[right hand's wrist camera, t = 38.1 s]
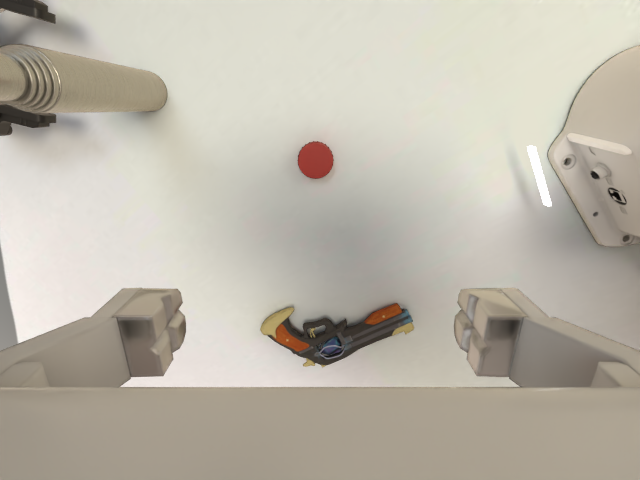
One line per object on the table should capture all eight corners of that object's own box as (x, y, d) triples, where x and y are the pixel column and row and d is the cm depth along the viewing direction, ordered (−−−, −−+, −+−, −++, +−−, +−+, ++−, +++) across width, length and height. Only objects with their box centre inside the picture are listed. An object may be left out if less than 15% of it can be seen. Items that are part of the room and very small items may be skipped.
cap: (298, 141, 40) (297, 142, 38) (333, 141, 40) (333, 142, 38) (298, 175, 41) (297, 179, 39) (332, 176, 41) (333, 179, 39)
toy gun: (255, 327, 45) (289, 388, 47) (389, 267, 44) (418, 333, 46) (258, 318, 48) (290, 376, 50) (385, 261, 46) (413, 323, 48)
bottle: (174, 89, 38) (12, 68, 18) (154, 119, 39) (-19, 130, 19) (142, 62, 37) (-67, 8, 17) (122, 93, 38) (-95, 76, 18)
